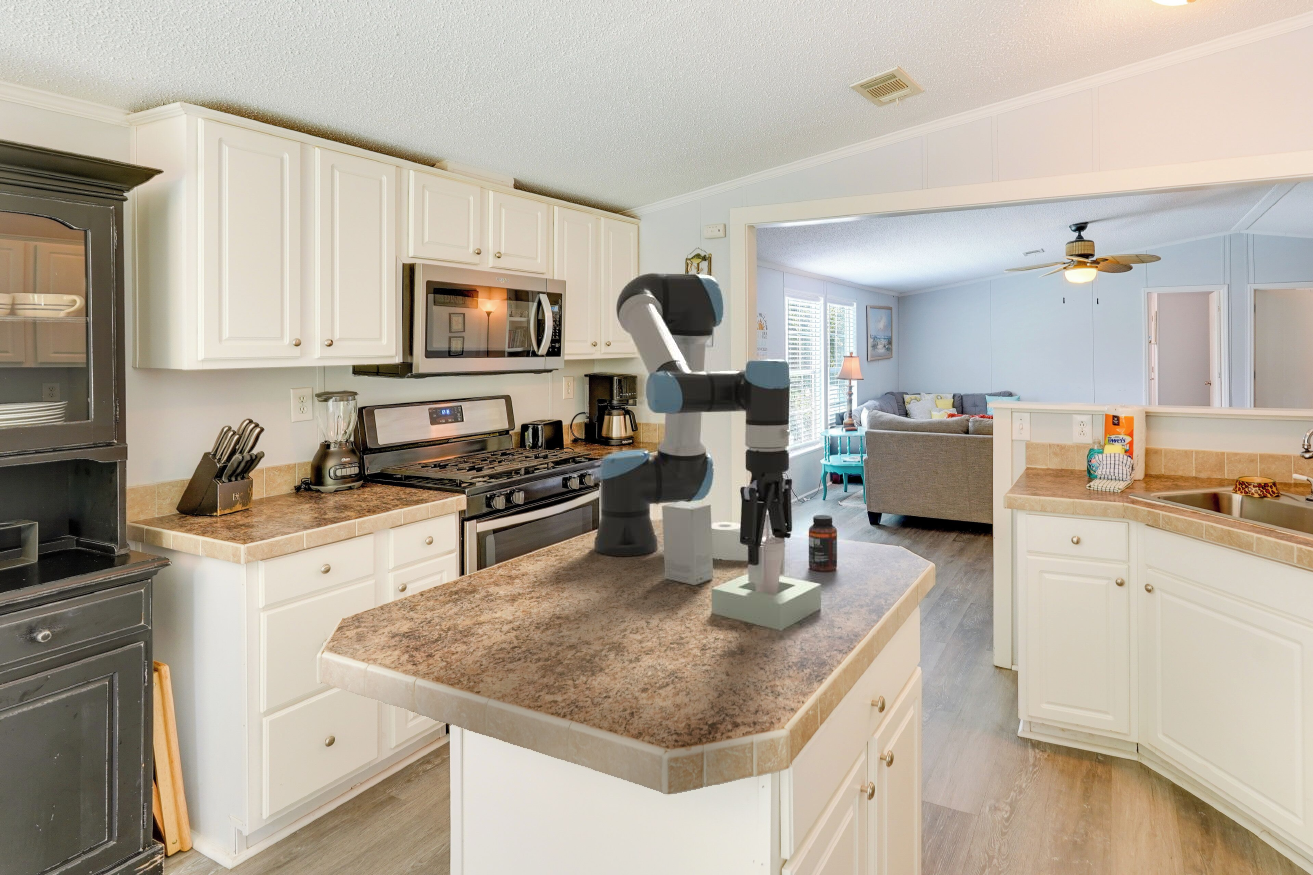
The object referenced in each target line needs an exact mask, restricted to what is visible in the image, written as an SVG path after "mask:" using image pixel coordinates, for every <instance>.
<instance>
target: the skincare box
mask: <svg viewBox="0 0 1313 875" xmlns="http://www.w3.org/2000/svg"><path fill="white" fill-rule="evenodd" d="M711 507H712V505H711V504H707V503H699V502H693V501H691V502H685V501H680V502H672V503H667V504H665V505H662V506H661V510H662V511H661V512H662V532H663V533H662V534H663V535H662V536H663V557H664V558H663V559H664V579H665V580H670V581H675V582H677V583H683V584H687V585H690V586H691V585H692V586H697V585H700V584H702V583H706V582H708V581H710V580H712V579H713V578H714V565H713V564H714V563H713V558H712V530H711V523H712V508H711Z"/></svg>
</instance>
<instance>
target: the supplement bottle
mask: <svg viewBox="0 0 1313 875" xmlns="http://www.w3.org/2000/svg"><path fill="white" fill-rule="evenodd" d="M812 519H813V520H812V522H813V524H812V525H811V526H809V528H808V567H809V569H811V570H812V571H817V572H832V571H834V570H836V569H837V567H838V530H837V527H835V525H834V524H833V516H832V515H828V514H816V515H813V518H812Z"/></svg>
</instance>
